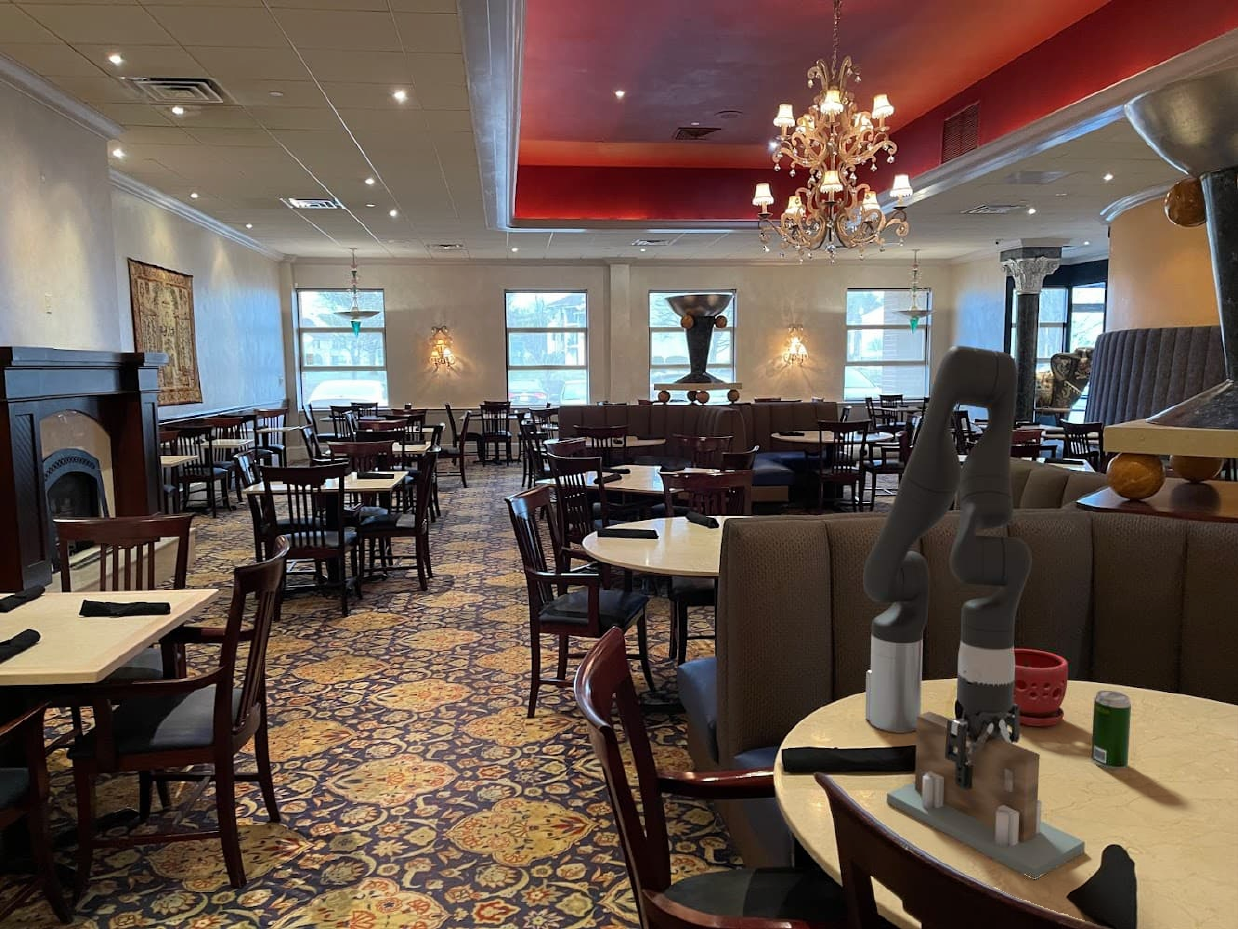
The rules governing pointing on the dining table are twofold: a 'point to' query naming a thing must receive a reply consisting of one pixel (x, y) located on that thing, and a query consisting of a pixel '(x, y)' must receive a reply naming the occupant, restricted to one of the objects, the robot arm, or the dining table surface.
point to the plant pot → (1039, 686)
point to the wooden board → (981, 776)
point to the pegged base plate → (989, 829)
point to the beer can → (1111, 730)
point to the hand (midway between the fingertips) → (981, 779)
